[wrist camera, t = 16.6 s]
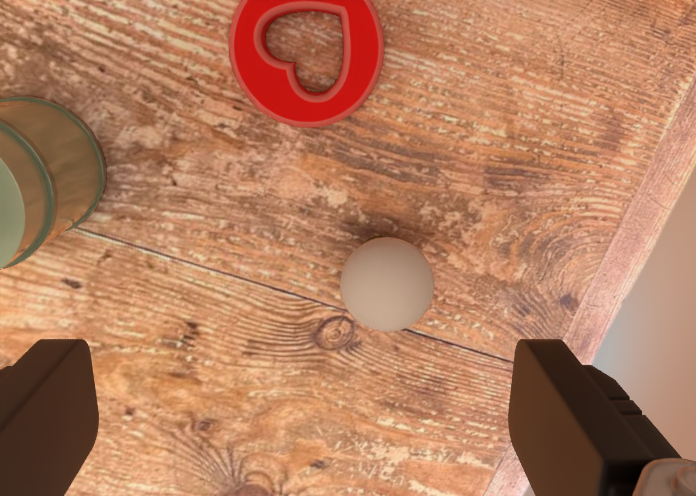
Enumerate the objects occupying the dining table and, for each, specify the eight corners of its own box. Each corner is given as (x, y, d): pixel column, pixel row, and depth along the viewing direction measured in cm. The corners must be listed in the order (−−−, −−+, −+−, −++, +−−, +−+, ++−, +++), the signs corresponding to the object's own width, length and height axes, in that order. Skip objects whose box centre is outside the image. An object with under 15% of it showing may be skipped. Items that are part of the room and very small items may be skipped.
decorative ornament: (404, 7, 39) (410, 3, 36) (346, 143, 42) (348, 151, 39) (266, -57, 38) (260, -67, 35) (215, 88, 40) (206, 91, 38)
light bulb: (406, 293, 46) (425, 357, 36) (330, 276, 45) (330, 337, 35) (427, 220, 44) (454, 267, 34) (349, 202, 43) (354, 244, 34)
